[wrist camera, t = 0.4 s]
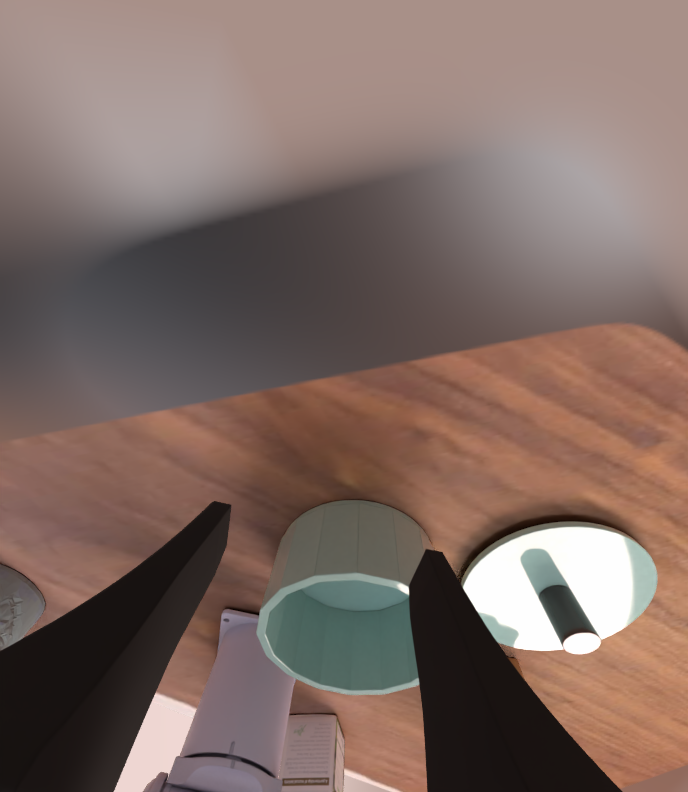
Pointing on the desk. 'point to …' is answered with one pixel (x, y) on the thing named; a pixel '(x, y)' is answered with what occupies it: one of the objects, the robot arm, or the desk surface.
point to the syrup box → (313, 754)
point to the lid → (560, 586)
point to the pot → (344, 599)
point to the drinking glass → (17, 606)
